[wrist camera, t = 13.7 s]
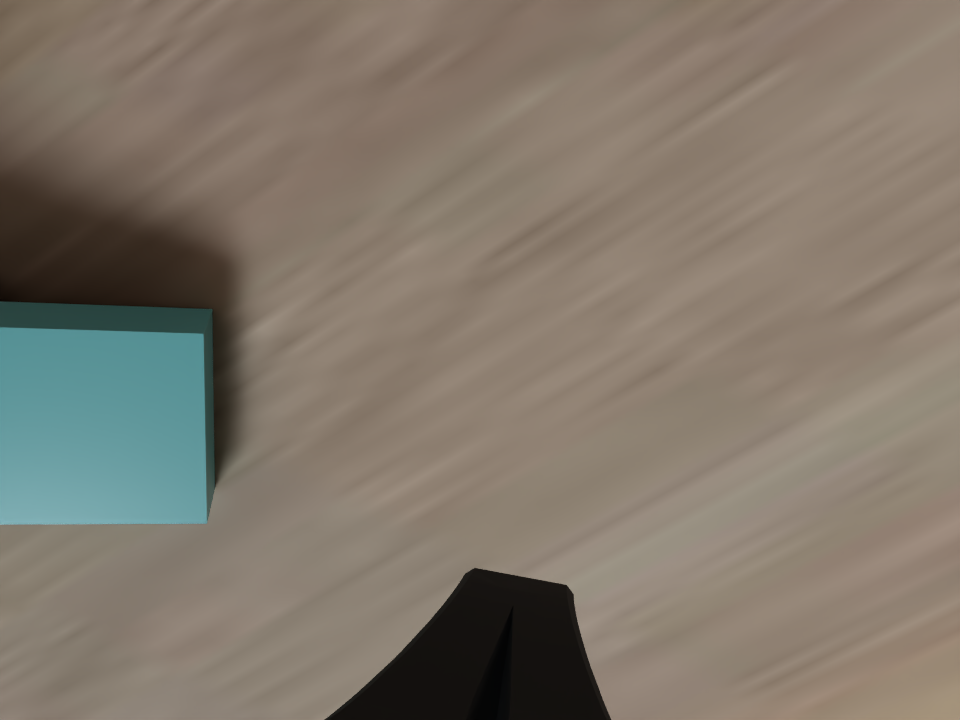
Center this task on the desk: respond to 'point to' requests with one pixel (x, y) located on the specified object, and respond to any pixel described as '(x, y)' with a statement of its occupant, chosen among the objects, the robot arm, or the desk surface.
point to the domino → (105, 414)
